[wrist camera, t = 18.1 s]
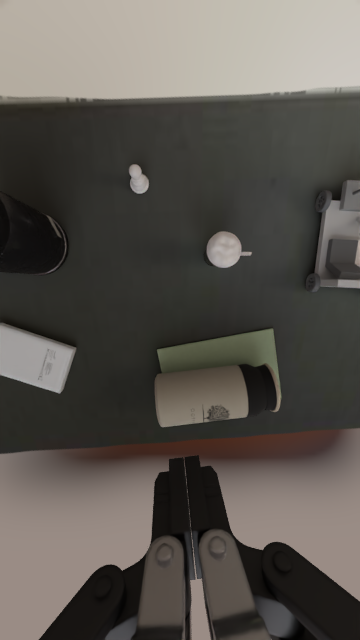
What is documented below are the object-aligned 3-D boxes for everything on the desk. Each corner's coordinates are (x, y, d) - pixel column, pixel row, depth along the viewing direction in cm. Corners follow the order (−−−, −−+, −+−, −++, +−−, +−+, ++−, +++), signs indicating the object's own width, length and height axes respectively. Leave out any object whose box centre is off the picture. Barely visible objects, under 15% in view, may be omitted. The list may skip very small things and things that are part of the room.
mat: (171, 418, 44) (171, 419, 44) (157, 349, 42) (157, 349, 41) (280, 397, 44) (281, 399, 44) (271, 328, 42) (273, 328, 42)
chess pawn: (137, 197, 38) (132, 185, 33) (126, 181, 38) (120, 166, 33) (152, 186, 38) (149, 172, 33) (141, 170, 38) (137, 153, 33)
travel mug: (155, 364, 41) (262, 352, 41) (161, 401, 44) (260, 390, 44) (153, 397, 33) (283, 382, 34) (160, 439, 37) (279, 425, 37)
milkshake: (228, 274, 40) (246, 272, 31) (196, 266, 40) (205, 261, 30) (235, 246, 40) (256, 235, 30) (203, 238, 39) (214, 224, 30)
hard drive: (3, 322, 40) (77, 347, 41) (-10, 367, 41) (63, 390, 42) (-4, 323, 39) (73, 349, 40) (-17, 370, 40) (58, 394, 41)
